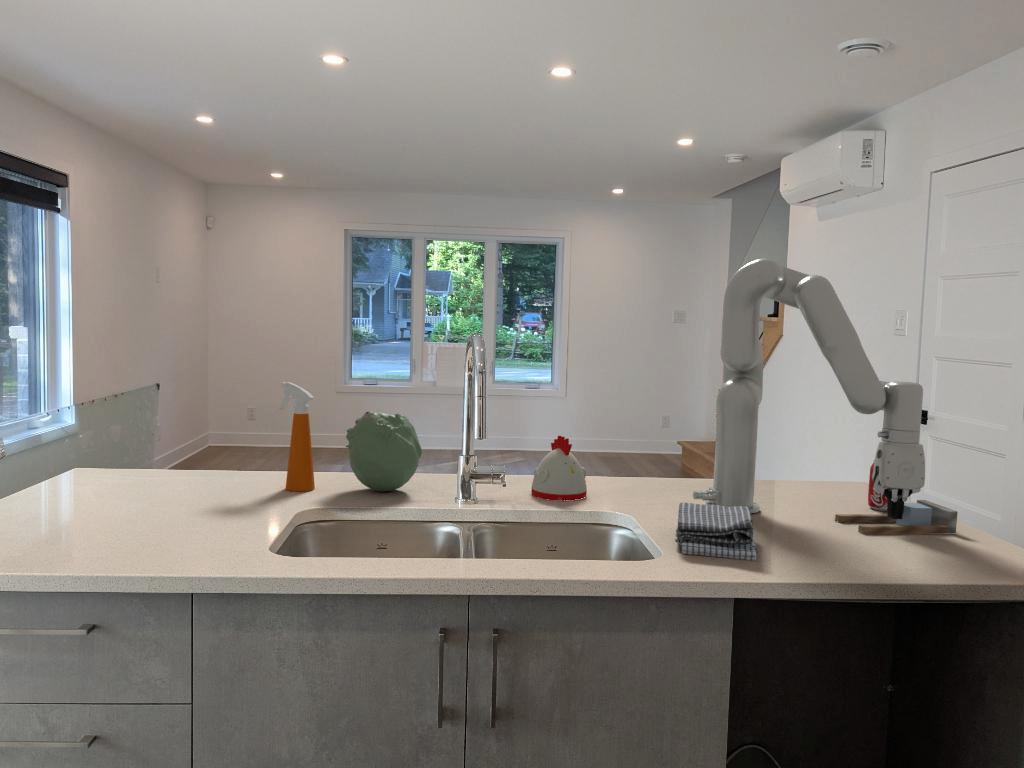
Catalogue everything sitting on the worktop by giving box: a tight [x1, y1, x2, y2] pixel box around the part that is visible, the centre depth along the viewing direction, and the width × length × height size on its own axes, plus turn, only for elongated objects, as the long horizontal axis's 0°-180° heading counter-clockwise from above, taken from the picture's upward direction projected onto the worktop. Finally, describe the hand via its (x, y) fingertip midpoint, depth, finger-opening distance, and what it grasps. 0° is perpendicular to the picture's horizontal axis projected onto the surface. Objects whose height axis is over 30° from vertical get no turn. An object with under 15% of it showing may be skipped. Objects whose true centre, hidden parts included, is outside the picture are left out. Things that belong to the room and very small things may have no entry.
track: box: [834, 499, 959, 535], centre depth 178 cm, size 22×11×5 cm, turn 97°
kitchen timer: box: [530, 435, 588, 502], centre depth 199 cm, size 14×14×15 cm
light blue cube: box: [895, 502, 932, 525], centre depth 178 cm, size 5×5×5 cm
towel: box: [674, 502, 758, 561], centre depth 158 cm, size 15×18×8 cm
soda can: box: [867, 459, 888, 512], centre depth 195 cm, size 7×7×12 cm
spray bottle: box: [275, 381, 316, 493], centre depth 195 cm, size 7×11×26 cm, turn 70°
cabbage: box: [345, 410, 423, 493], centre depth 196 cm, size 16×19×20 cm
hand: (894, 517), depth 178 cm, fingers closed
